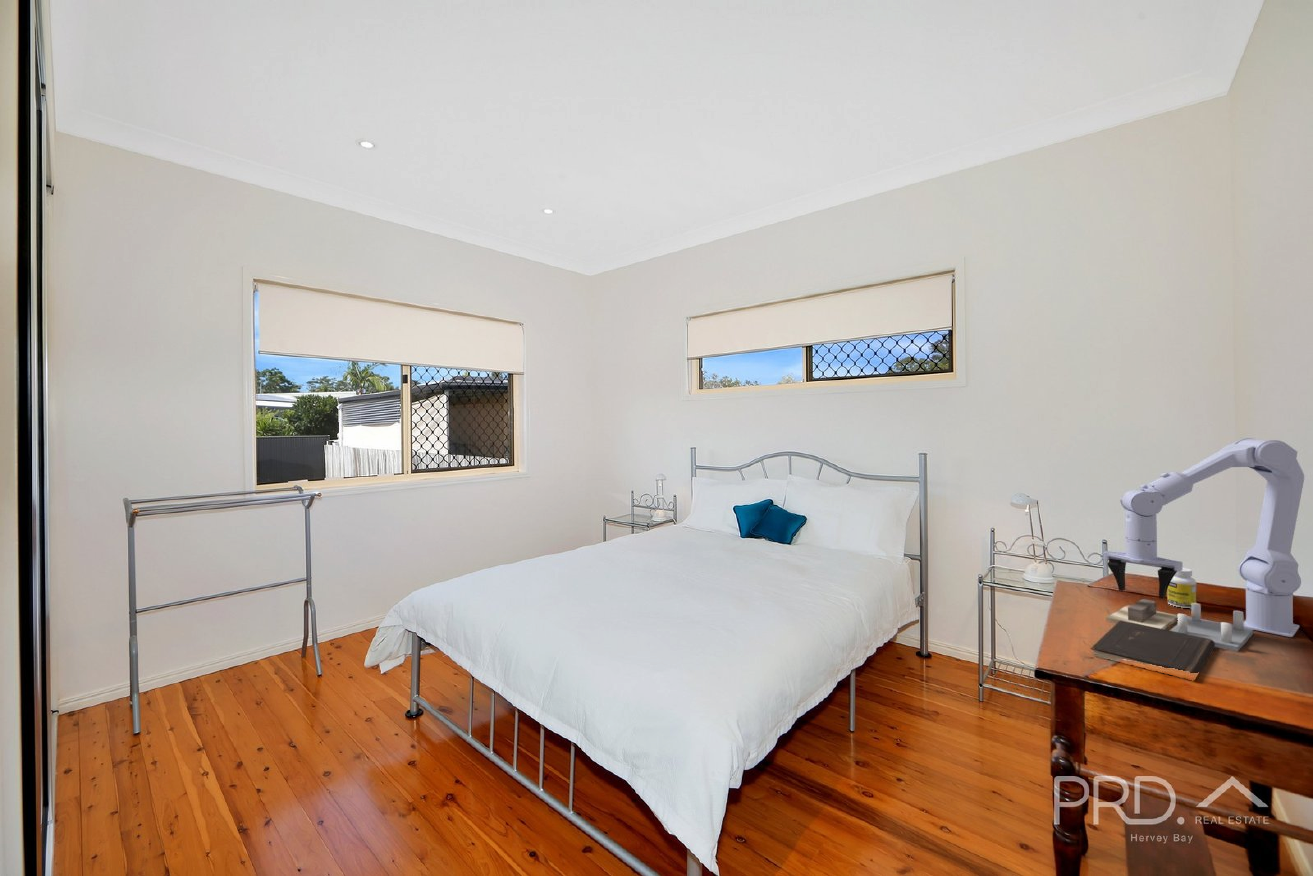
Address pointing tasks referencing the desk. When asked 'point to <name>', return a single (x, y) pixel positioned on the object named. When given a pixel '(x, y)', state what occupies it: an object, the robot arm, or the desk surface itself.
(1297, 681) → the desk surface
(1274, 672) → the desk surface
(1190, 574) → the supplement bottle
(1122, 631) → the hardcover book
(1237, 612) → the peg stand
